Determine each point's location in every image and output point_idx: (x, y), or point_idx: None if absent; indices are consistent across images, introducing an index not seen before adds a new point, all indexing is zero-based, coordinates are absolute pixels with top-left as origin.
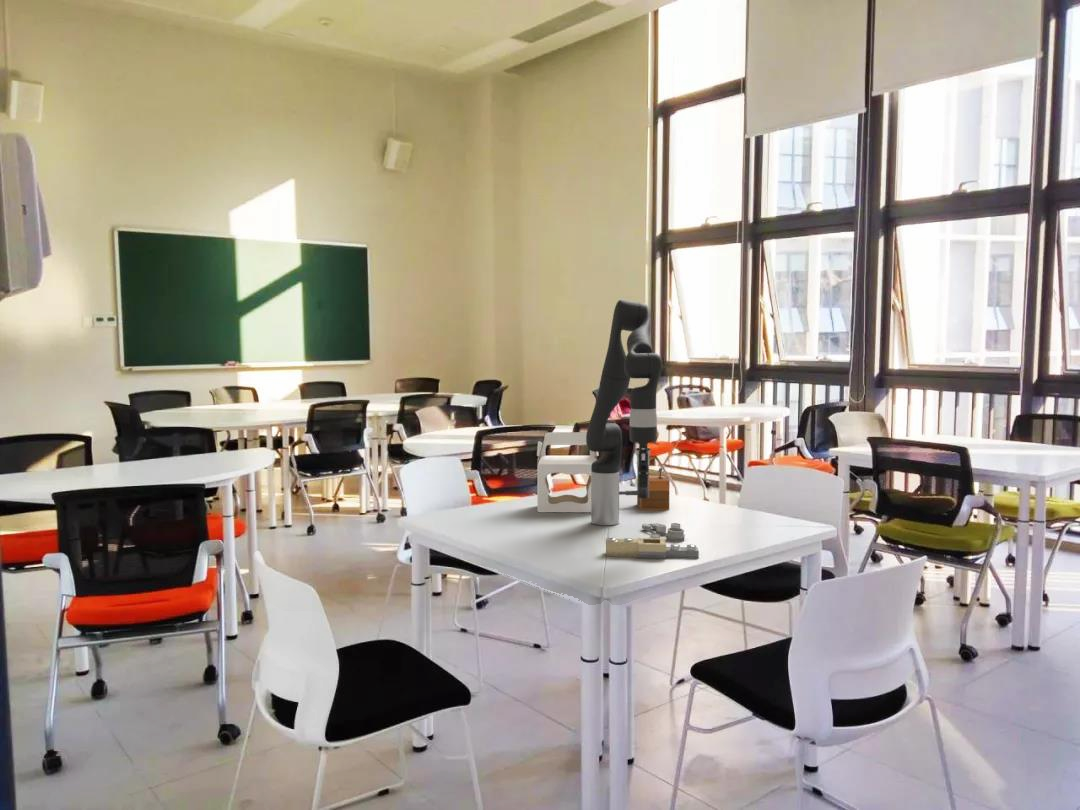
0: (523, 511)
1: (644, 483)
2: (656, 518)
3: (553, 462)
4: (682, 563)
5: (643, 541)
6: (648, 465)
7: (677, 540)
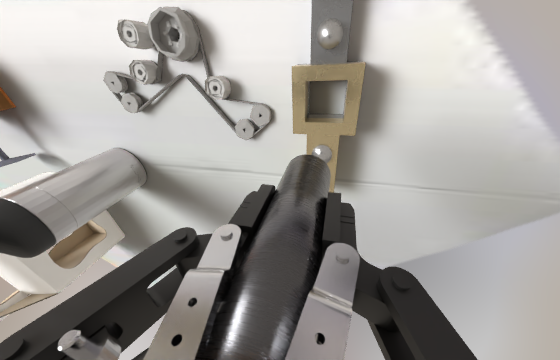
0: (128, 247)
1: (354, 218)
2: (47, 79)
3: (35, 279)
4: (411, 11)
5: (328, 122)
6: (319, 293)
7: (197, 29)
